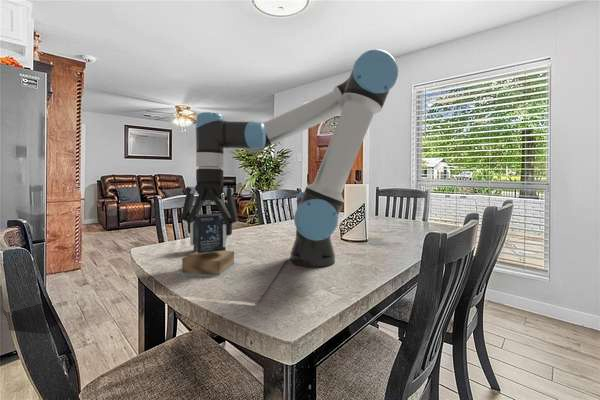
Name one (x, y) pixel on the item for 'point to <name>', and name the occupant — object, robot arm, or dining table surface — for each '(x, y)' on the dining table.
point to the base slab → (208, 262)
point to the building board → (209, 274)
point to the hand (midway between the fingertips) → (209, 245)
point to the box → (208, 232)
